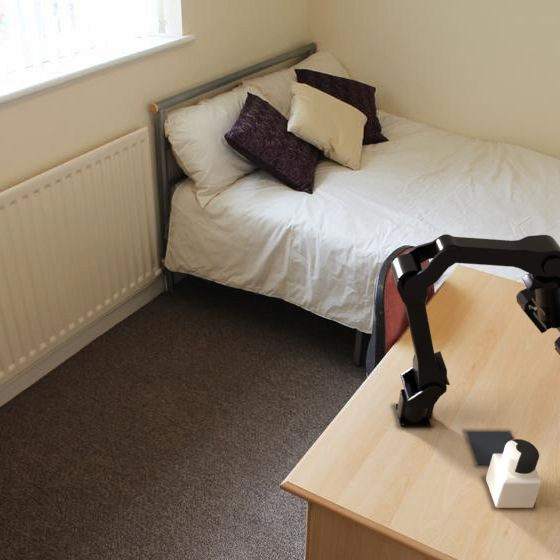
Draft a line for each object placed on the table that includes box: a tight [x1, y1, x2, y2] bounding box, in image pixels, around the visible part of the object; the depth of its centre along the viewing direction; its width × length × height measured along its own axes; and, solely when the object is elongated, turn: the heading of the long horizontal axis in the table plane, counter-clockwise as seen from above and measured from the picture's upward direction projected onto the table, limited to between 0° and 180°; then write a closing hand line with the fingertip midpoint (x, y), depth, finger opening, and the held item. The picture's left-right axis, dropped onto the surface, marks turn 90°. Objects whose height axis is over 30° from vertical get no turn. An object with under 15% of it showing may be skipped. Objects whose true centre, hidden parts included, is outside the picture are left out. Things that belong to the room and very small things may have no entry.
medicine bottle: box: [485, 438, 543, 509], centre depth 131 cm, size 7×7×12 cm
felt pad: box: [466, 431, 513, 466], centre depth 144 cm, size 9×9×1 cm
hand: (555, 346), depth 146 cm, fingers open, 9 cm apart
